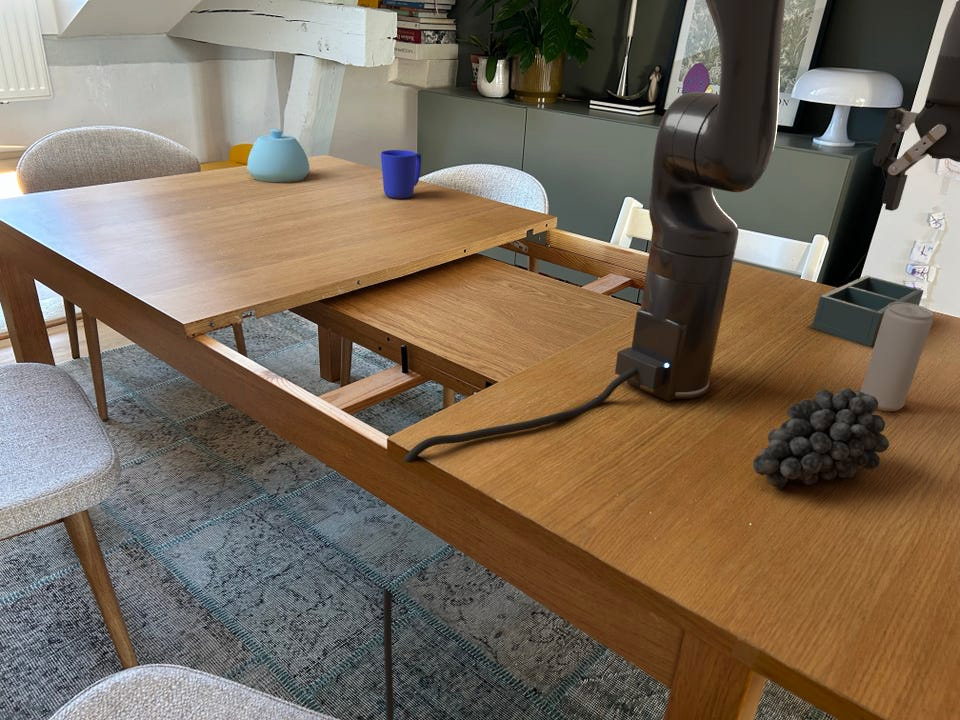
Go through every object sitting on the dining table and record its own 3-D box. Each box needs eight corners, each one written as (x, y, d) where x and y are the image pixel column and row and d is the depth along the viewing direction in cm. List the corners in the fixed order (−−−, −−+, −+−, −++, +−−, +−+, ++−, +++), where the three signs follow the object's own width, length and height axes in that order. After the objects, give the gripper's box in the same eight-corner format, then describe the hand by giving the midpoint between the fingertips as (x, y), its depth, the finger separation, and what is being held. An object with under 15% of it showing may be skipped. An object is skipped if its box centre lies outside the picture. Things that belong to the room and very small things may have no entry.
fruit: (787, 418, 64) (904, 386, 70) (720, 403, 71) (830, 376, 77) (792, 512, 65) (906, 474, 71) (725, 488, 73) (833, 455, 78)
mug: (432, 193, 176) (433, 151, 172) (401, 202, 167) (401, 157, 163) (405, 188, 180) (405, 146, 176) (373, 196, 171) (373, 152, 167)
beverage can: (857, 406, 86) (886, 311, 81) (859, 390, 90) (887, 298, 85) (903, 417, 84) (935, 320, 79) (903, 400, 88) (934, 307, 83)
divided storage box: (913, 321, 113) (923, 290, 111) (871, 347, 103) (881, 313, 101) (857, 304, 119) (865, 275, 117) (811, 327, 108) (819, 296, 106)
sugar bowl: (321, 175, 189) (319, 129, 184) (286, 186, 176) (283, 136, 172) (273, 169, 194) (269, 123, 189) (235, 178, 181) (231, 130, 176)
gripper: (892, 49, 74) (851, 209, 81) (1062, 59, 64) (999, 239, 71) (918, 48, 78) (878, 200, 85) (1080, 58, 69) (1020, 227, 76)
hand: (933, 217), depth 78 cm, fingers open, 8 cm apart
